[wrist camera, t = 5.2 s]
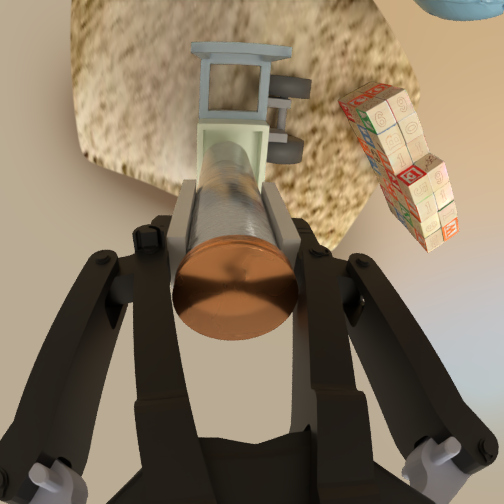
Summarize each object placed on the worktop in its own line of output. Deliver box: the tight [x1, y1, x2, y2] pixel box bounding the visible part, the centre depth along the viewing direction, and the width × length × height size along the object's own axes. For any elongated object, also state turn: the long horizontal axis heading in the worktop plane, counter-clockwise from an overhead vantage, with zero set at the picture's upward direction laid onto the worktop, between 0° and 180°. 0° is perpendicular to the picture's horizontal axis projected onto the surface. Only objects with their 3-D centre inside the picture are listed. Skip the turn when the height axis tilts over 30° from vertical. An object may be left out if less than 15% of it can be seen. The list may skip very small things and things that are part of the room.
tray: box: [197, 118, 270, 194], centre depth 29 cm, size 8×7×3 cm
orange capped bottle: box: [172, 141, 298, 340], centre depth 17 cm, size 5×5×17 cm
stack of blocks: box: [338, 82, 459, 253], centre depth 33 cm, size 21×6×12 cm, turn 35°
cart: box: [191, 42, 312, 164], centre depth 27 cm, size 15×12×17 cm
